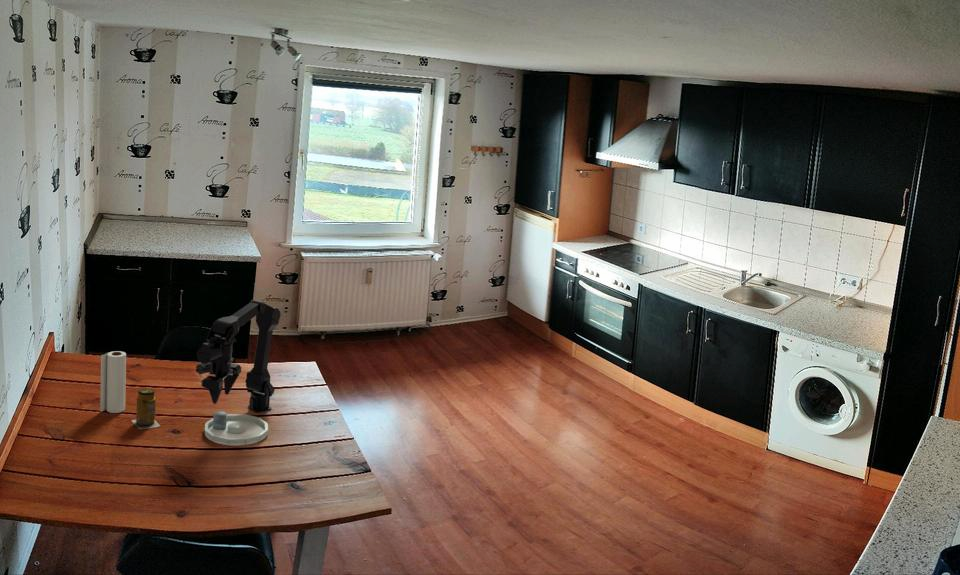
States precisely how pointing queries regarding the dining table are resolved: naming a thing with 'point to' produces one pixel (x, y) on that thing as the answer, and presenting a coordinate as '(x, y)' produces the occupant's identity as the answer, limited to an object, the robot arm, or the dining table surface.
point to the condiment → (145, 409)
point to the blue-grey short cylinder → (219, 420)
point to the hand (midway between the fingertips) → (220, 398)
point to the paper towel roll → (113, 382)
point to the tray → (248, 433)
